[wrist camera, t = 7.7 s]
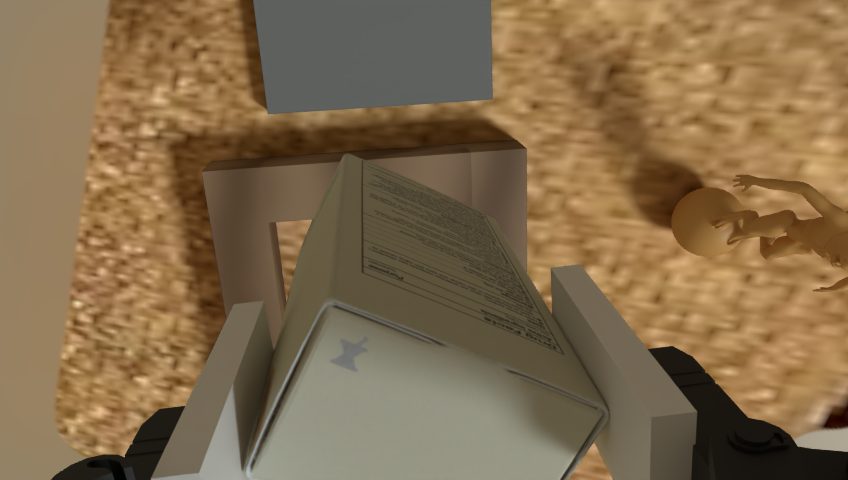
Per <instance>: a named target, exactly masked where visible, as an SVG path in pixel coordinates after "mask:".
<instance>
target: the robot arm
mask: <svg viewBox="0 0 848 480" xmlns="http://www.w3.org/2000/svg"><path fill="white" fill-rule="evenodd" d="M551 290H552V316H553V317H554V319H555V321H556V323H557V324H558V326H559V328H560V329H561V331H562V333H563V334H564V336H565V338H566V339H567V341H568V343H569V344H570V346H571V348H572V349H573V351H574V353H575V354H576V356H577V358H578V359H579V361H580V363H581V364H582V366H583V368H584V369H585V371H586V372H587V374H588V376H589V377H590V379H591V381H592V382H593V384H594V386H595V387H596V389H597V391H598V392H599V394H600V396H601V397H602V399H603V400H604V402H605V404H606V406H607V408H608V410H609V420H608V421H607V423H606V424H605V426H604V427H603V429H602V430H601V432H600V433H599V435H598V436H597V438H596V439H595V441H594V442H595V444H596V446H597V448H598V450H599V452H600V454H601V456H602V458H603V460H604V462H605V464H606V466H607V468H608V470H609V472H610V474H611V476H612V478H613V480H848V452H842V451H830V450H819V449H809V448H803V447H797V445H796V443H795V442H794V440H793V439H792V437H791V436H790V435H789V434H788V433H786V432H785V431H783V430H782V429H781V428H779V427H777V426H775V425H772V424H770V423H768V422H765V421H762V420H757V419H751V418H748V417H747V416H746V415H745V414H744V413H743V412H742V411H741V409H740V408H739V407H738V406H737V405H736V404H735V403H734V402H733V401H732V400H731V398H730V397H729V396H728V395H727V394H726V393H725V392H724V391H723V390H722V389H721V387H720V386H719V385H718V384H715V381H714V380H713V379H712V378H711V376H710V375H709V374H708V373H705V370H704V369H703V368H702V367H701V365H700V364H699V363H698V362H697V361H696V360H695V359H694V358H693V357H692V356H690V355H688V354H686V353H685V352H683V351H681V350H679V349H677V348H675V347H673V346H669V347H661V348H653V349H647V348H646V347H645V345H644V344H643V343H642V342H641V340H640V339H639V338H638V337H637V335H636V334H635V333H634V332H633V330H632V329H631V328H630V327H629V325H628V324H627V323H626V322H625V320H624V319H623V318H622V317H621V315H620V314H619V313H618V312H617V310H616V309H615V308H614V307H613V305H612V304H611V303H610V302H609V300H608V299H607V298H606V296H605V295H604V294H603V293H602V291H601V290H600V289H599V288H598V286H597V285H596V284H595V283H594V281H593V280H592V279H591V278H590V276H589V275H588V274H587V273H586V271H585V270H584V269H583V268H582V266H581V265H571V266H563V267H554V268H551ZM273 352H274V349H273V344H272V339H271V334H270V328H269V323H268V318H267V313H266V308H265V302H264V301H257V302H248V303H240V304H234V305H233V307H232V309H231V311H230V313H229V316H228V318H227V320H226V322H225V324H224V326H223V328H222V330H221V332H220V334H219V337H218V339H217V341H216V343H215V345H214V347H213V349H212V351H211V353H210V355H209V358H208V360H207V362H206V364H205V366H204V368H203V370H202V372H201V374H200V377H199V379H198V381H197V383H196V385H195V387H194V389H193V391H192V393H191V395H190V398H189V400H188V402H187V404H186V406H181V407H173V408H164V409H159V410H158V411H157V412H156V413H155V414H154V415H152V416H151V417H150V418H149V419H148V420H147V421H146V422H144V423H143V424H142V425H141V427H140V429H139V431H138V432H137V434H136V436H135V438H134V440H133V444H132V445H130V447H129V449H128V450H127V452H126V454H125V457H122V456H120V455H100V456H95V457H90V458H87V459H84V460H82V461H79V462H77V463H75V464H72V465H70V466H69V467H67V468H66V469H64V470H63V471H61V472H59V473H58V474H56V475H55V476H54V477H53V478H52V480H251V479H249V478H248V477H247V476H246V475H245V471H244V469H245V465H246V461H247V457H248V452H249V448H250V444H251V440H252V436H253V432H254V428H255V424H256V420H257V416H258V412H259V408H260V404H261V400H262V395H263V391H264V387H265V384H266V380H267V376H268V372H269V368H270V364H271V360H272V356H273Z"/></svg>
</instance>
